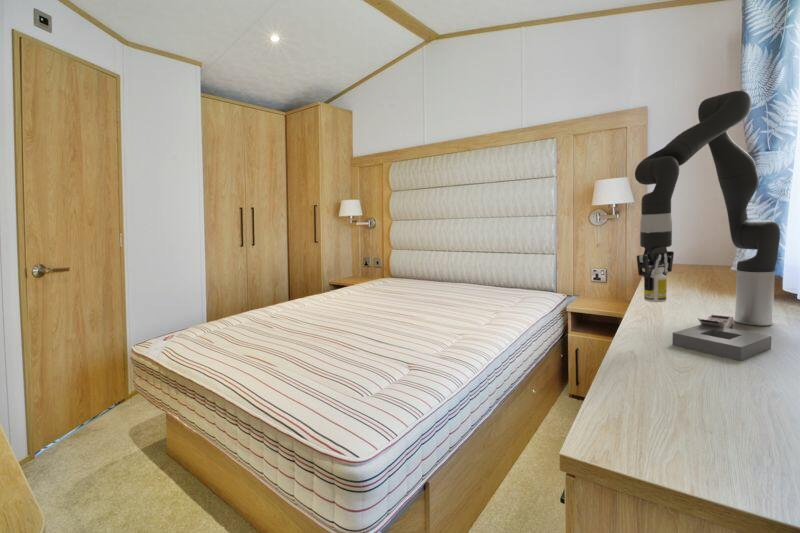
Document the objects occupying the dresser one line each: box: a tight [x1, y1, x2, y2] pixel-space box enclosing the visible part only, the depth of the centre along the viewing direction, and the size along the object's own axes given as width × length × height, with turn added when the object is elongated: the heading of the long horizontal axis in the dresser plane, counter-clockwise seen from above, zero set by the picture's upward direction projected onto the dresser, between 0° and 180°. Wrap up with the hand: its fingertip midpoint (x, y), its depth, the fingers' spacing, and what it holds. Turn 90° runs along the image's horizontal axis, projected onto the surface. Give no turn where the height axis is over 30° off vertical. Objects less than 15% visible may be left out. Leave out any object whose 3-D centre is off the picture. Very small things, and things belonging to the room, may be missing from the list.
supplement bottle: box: [643, 266, 668, 303], centre depth 113 cm, size 5×5×10 cm
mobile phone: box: [697, 314, 734, 329], centre depth 123 cm, size 6×6×25 cm
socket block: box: [672, 323, 772, 362], centre depth 109 cm, size 16×16×4 cm
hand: (655, 288), depth 113 cm, fingers closed on supplement bottle, 5 cm apart
